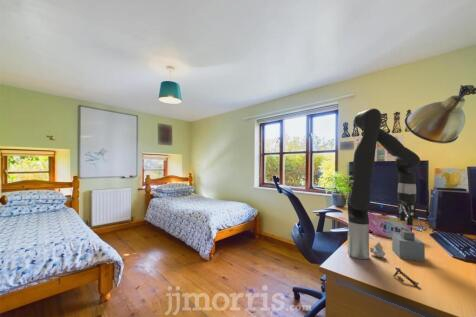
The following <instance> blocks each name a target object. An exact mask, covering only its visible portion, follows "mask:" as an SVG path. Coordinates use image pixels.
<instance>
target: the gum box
mask: <svg viewBox="0 0 476 317" xmlns="http://www.w3.org/2000/svg"><path fill="white" fill-rule="evenodd" d="M368 217H369V230H371V231H373V233H372V234H373V235H377V236H383V237H387V238H391V239H392V234H396V235H401V230H407V231H412V232H413V225H414V224H413V225H412V226H410V225H407V216H405V221H401V220H400V215H396V214H395V215H394V214H388V213H383V212H374V211H368Z"/></svg>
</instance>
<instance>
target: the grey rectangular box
mask: <svg viewBox="0 0 476 317" xmlns="http://www.w3.org/2000/svg"><path fill="white" fill-rule="evenodd" d="M415 235H416V234H415V232H413V230H412V231H407V230H401V235H396V234H392V238H391V239H392V240H391V248H392V249H391V250H392V252H393V253H394V254H395V255H396V256H397V257H398V258H399V259H403V260H412V261H418V262H426V260H425V258H426V256H425V254H426V253H425V252H426V251H425V250H426V249H425V248H426V247H425V245H426V244H425V242H423V241H422V240H421V239H419V238H418V237H416V236H415Z"/></svg>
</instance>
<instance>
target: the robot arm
mask: <svg viewBox="0 0 476 317" xmlns="http://www.w3.org/2000/svg"><path fill="white" fill-rule="evenodd" d="M382 120H383V119H382V113H381V111H380V110H379V109H377V108H370V109H366V110H363V111H360V112H358V113H356V115H355V116H354V124H355V125H356V126H357V128H359V129H360V130H362V131H363V134H362V137H361V139H360V141H359V143H358V144H357V146H356V148H355V151H354V154H353V162H352V174H353V175H352V176H353V184H352V190H351V191H350V192H349V194H348V196H347V215H348V216H347V218H348V219H347V220H348V226H347V227H348V228H347V229H348V232H347V253H348V256H349V257H352V258H355V259H357V260H369V258H370V233H369V217H368V213H369V206H370V204H371V182H372V177H373V173H374V169H375V168H374V166H375V161H376V159H375V158H376V150H377V143H379V144H380V145H381V146H382V147H383V149H385V151H387V153H388V154H389V155H391V156H392V157H395V161H394V162H395V163H394V164H395V167H396V171H397V174H398V175H397V176H398V184H397V201H398V203H397V204H398V205H397V208H398V209H397V212H398V213H399V216H400V220H401V221H405V217H407V225H410V226H412V225H414V219H416V205H413V203H416V202H417V185H416V182H417V177H416V173H414V172H411V171H410V168H411V169H413V168H414V169H415V168H418V167H419V166H420V165H421V158H420V156H419V155H418V154H417V153H416V152H414V151H413V150H411V149H409V148H408V147H406V146H404V144H403V143H402V142H400V140H399V139H398V138H396V137H395V136H394V135H392V134H390V133H388V132H387V131H384V130H383V129H382V128H381V126H382ZM412 227H413V226H412Z"/></svg>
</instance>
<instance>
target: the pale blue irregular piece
mask: <svg viewBox="0 0 476 317" xmlns="http://www.w3.org/2000/svg"><path fill="white" fill-rule="evenodd" d="M383 249H384V247H383V246H382V244H381V243H380V241H378V242H377V243H375V244H374V247H371V246H369V253H371V254H373V255H374V257H377V258H384V257H385V255H386V252H385V251H384V250H383Z"/></svg>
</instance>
